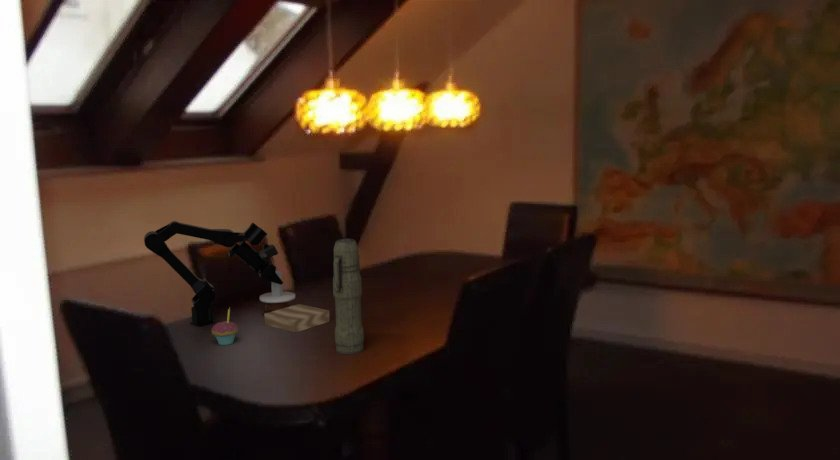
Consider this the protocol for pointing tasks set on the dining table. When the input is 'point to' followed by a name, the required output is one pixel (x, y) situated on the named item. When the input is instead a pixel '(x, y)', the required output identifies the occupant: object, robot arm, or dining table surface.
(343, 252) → the thermos
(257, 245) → the robot arm
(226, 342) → the cupcake
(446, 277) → the dining table surface
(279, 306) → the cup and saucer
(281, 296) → the white peg stand
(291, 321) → the trivet
